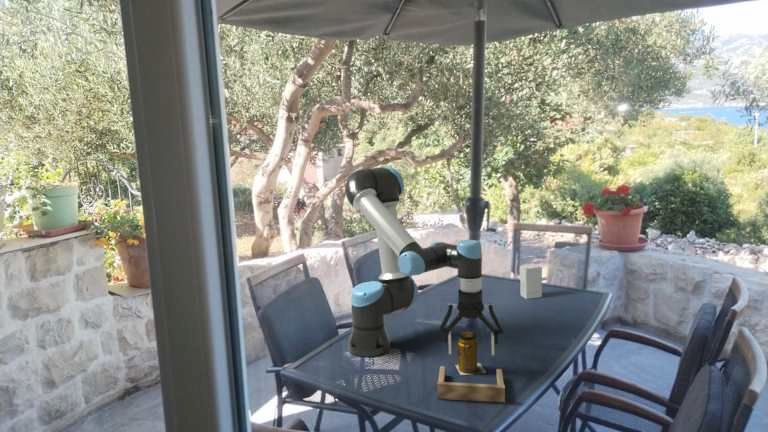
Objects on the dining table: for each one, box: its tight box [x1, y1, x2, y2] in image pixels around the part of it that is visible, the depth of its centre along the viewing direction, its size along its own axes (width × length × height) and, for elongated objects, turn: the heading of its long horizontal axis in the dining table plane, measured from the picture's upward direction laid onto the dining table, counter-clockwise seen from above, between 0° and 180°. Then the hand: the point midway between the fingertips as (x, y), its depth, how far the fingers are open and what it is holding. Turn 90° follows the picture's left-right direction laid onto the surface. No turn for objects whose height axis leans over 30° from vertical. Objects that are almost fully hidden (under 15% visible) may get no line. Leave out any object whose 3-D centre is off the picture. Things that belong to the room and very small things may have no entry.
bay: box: [436, 365, 506, 403], centre depth 149 cm, size 19×14×4 cm
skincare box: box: [519, 263, 543, 300], centre depth 229 cm, size 8×6×15 cm
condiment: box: [454, 331, 487, 376], centre depth 160 cm, size 7×8×12 cm
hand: (471, 353), depth 160 cm, fingers open, 13 cm apart
